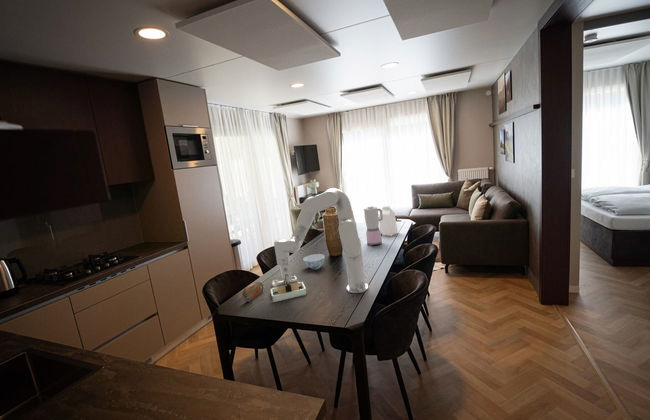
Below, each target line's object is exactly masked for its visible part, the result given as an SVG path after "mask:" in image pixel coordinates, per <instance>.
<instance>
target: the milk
mask: <svg viewBox="0 0 650 420" xmlns="http://www.w3.org/2000/svg"><path fill="white" fill-rule="evenodd" d="M381 210H382V217H383V219H382V220H381V221H379V230H380V232H381V233H382V236H385V235H387V236H389V237H392V235H393V236H394V235H396V234H398V227H397V218H396V213H395V212H394V211H393V210H392V209H391V207H390V205H383V206H382V209H381ZM378 215H379V219H380V218H381V217H380V214H378Z"/></svg>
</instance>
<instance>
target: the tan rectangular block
mask: <svg viewBox="0 0 650 420" xmlns="http://www.w3.org/2000/svg"><path fill="white" fill-rule="evenodd" d="M297 280H298V278H297V279H294V280H290V285H291V289H292V291H296V290H300V289H299V287H298V283H299V280H298V281H297ZM285 286H286V285H285V282H281V283H277V289H278V292H277V295H279V294H283V293H287V292H286V288H285ZM292 291H291V292H292Z"/></svg>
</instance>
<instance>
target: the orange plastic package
mask: <svg viewBox="0 0 650 420" xmlns="http://www.w3.org/2000/svg"><path fill="white" fill-rule="evenodd" d="M263 292H264V284H263V282H260V281H254V282H253V283H251V284H250V285H248V286H246V287H245V288H244V289H243V290H242V293H241V294H242V295H241V297H242V299H243V300H244V301H245V302H249V303H251V302H252V301H253V299H254V298H255V297H257V296H258V295H261V294H263Z"/></svg>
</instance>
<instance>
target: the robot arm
mask: <svg viewBox="0 0 650 420" xmlns="http://www.w3.org/2000/svg"><path fill="white" fill-rule="evenodd" d="M334 206H335V210H336V215H337V217H338V234H339V238H340V242H341V243H340V244H341V246H342V250H343V253H344V257H345V266H346V273H347V282H348V284H347V286H346V291H347V292H348V293H350V294H351V293H352V294H361V293H364V292H366V291H368V290H369V285H368V283H366V280H365V277H366V276H365V269H364V268H365V267H364V259H363V252H362V250H363V249H362V241H361V238H360V237H359V233H358V228H357V222H356V219H355V216H354V211H353V208H352V205H351V201H350V199H349V197H348V195H347V194H346V193H345V192H344V191H343V190H342V189H340V188H339V189H338V188H335V187H331V188H330V187H329V188H328V189H326V190H325V191H324V192H322V193H320V194H317V195H314V196H308V197H307V198H306V199H305V200H304V201H303V202H302V206H301V207H302V208H301V210H300V212H299V215H298V217H297V219H296V226H295V229H294V231H293V233H292V235H291V237H290V238H289V239H288V240H287V239H285V238H280V239H279V238H278V239H277V240H275V241H274V242H273V244H274V252H275V258H276V264H277V265H278V266H279V268H280V269H279V270H280V274H281V277H282V281H283V282H285V285H286V286H285V288H286V292H291V291H292V289H291V285H290V280H292V273H291V267H290V263H291V258H290V253H291V254H292V253H294V254H295V253H297V252H298V251H299V250H300V248H301V246H302V245H303V243H304V240H305V239H306V236H307V233H308V232H309V229H311V226H312V223H313V221H314V220H315V217H316V215H317V214H318V213H319V212H322V211H324V210H327V209H329V208H332V207H334ZM289 279H290V280H289Z"/></svg>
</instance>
